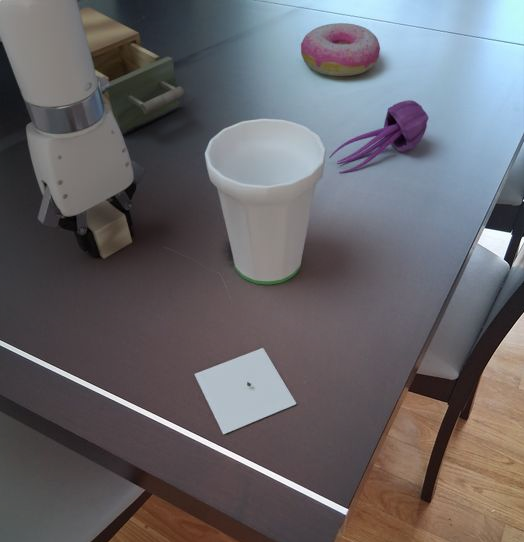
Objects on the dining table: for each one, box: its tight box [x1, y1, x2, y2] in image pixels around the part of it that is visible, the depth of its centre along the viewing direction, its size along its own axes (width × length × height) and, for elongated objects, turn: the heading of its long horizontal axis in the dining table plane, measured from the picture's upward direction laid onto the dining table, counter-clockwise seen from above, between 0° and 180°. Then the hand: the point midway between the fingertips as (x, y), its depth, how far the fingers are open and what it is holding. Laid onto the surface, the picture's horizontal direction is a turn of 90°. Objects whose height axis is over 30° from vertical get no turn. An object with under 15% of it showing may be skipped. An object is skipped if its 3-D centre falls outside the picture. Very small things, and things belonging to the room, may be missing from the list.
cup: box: [204, 118, 327, 286], centre depth 64 cm, size 12×12×15 cm
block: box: [86, 199, 133, 260], centre depth 71 cm, size 4×4×4 cm
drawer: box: [92, 42, 185, 133], centre depth 88 cm, size 18×11×7 cm, turn 44°
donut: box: [300, 22, 381, 77], centre depth 98 cm, size 14×13×5 cm
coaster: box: [194, 347, 297, 435], centre depth 58 cm, size 8×8×1 cm
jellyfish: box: [328, 99, 429, 174], centre depth 81 cm, size 7×7×15 cm
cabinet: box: [79, 6, 143, 57], centre depth 94 cm, size 15×13×9 cm
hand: (107, 240), depth 73 cm, fingers closed on block, 4 cm apart
